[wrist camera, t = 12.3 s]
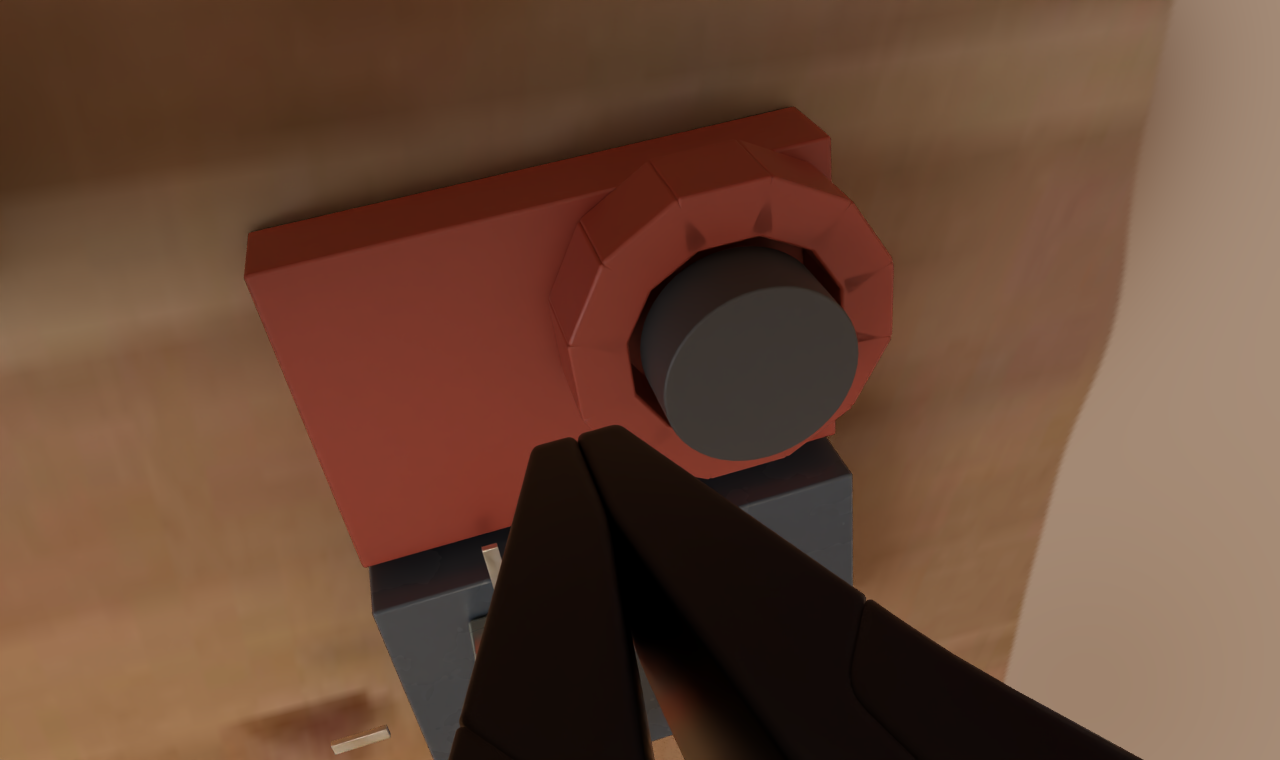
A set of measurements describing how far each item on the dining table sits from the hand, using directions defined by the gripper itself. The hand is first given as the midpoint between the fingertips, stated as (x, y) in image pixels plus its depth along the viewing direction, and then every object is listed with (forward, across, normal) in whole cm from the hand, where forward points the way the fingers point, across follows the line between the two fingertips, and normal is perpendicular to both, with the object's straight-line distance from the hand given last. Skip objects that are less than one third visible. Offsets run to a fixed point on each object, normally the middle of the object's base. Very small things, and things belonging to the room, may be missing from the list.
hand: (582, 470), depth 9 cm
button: (+9, -4, +6) cm, 12 cm away
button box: (+13, -1, +6) cm, 15 cm away
